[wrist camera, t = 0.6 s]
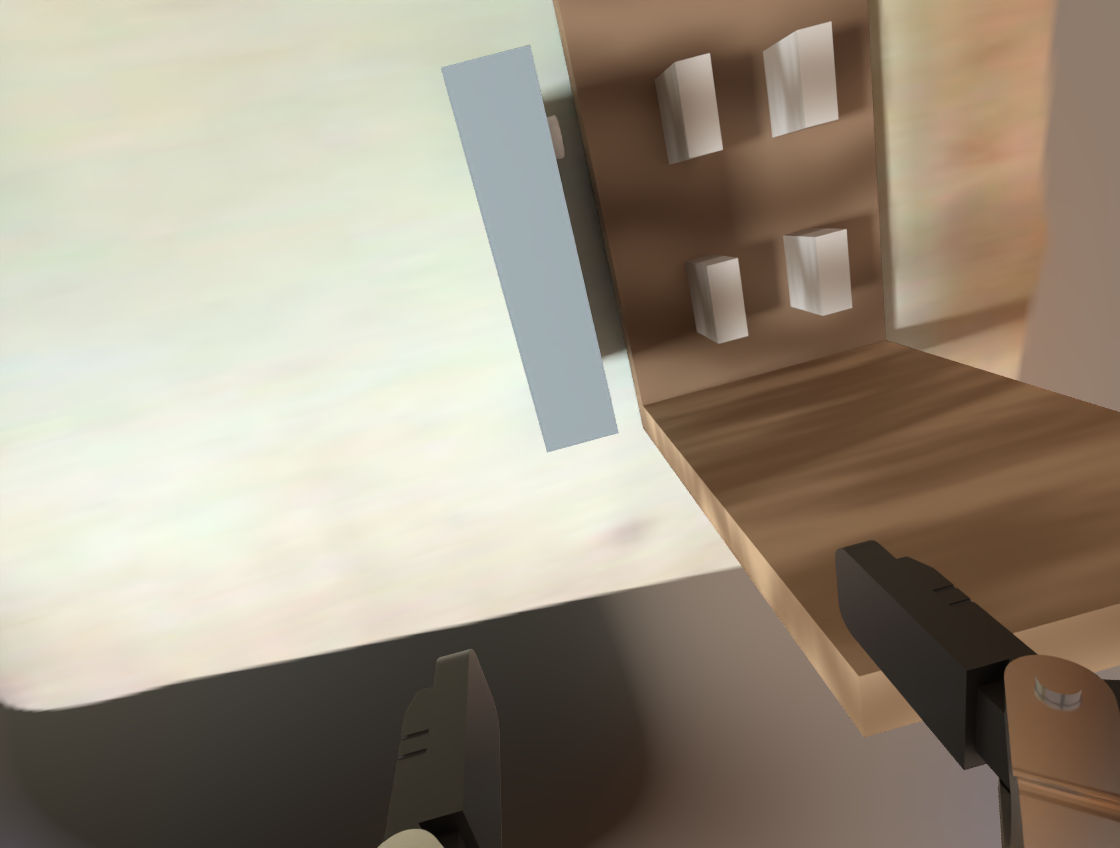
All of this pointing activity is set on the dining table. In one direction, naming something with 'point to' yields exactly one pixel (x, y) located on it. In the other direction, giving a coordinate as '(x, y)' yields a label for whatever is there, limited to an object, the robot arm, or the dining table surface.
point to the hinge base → (819, 340)
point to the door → (532, 240)
